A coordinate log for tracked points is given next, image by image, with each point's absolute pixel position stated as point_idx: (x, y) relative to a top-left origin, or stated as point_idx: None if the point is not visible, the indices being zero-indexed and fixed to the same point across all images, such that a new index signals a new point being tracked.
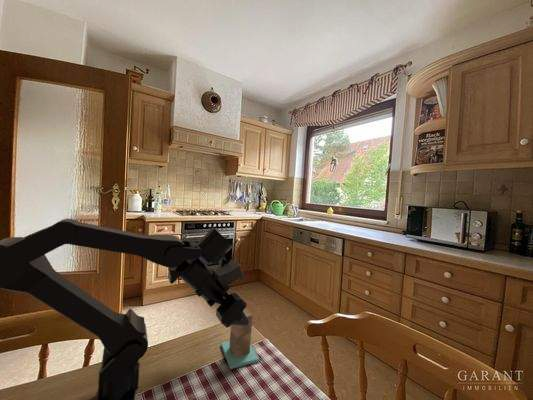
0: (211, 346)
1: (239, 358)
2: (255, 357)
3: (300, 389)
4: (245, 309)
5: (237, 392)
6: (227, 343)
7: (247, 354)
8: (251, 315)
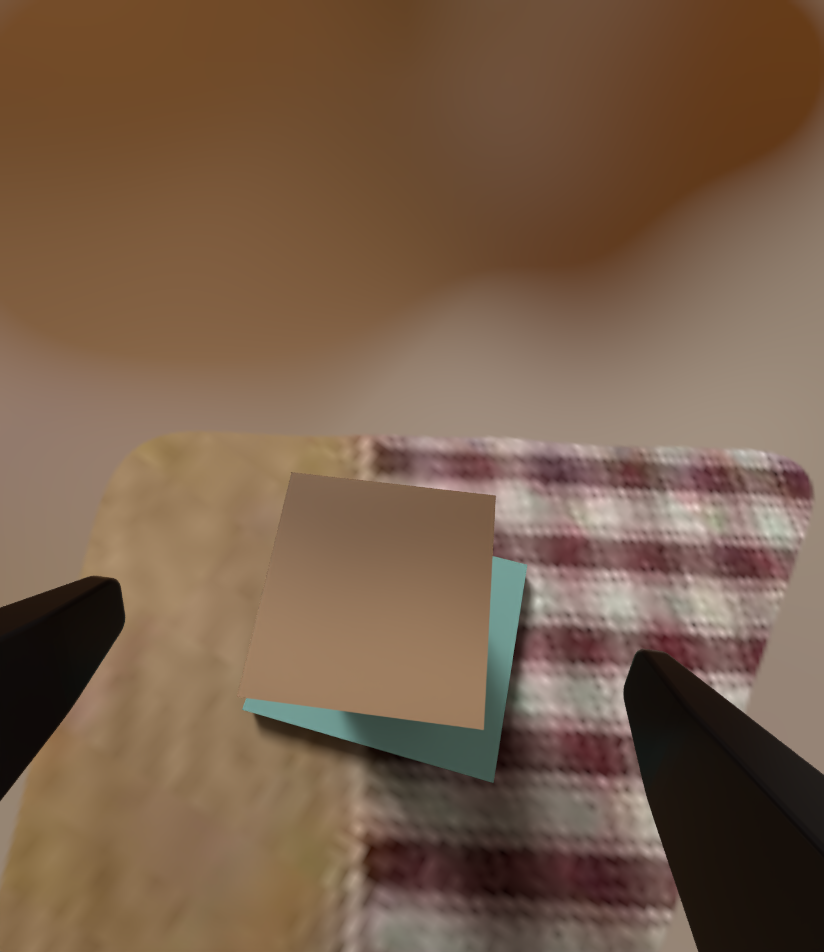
0: (205, 776)
1: None
2: (506, 579)
3: (773, 507)
4: (317, 490)
5: None
6: None
7: None
8: (490, 508)
